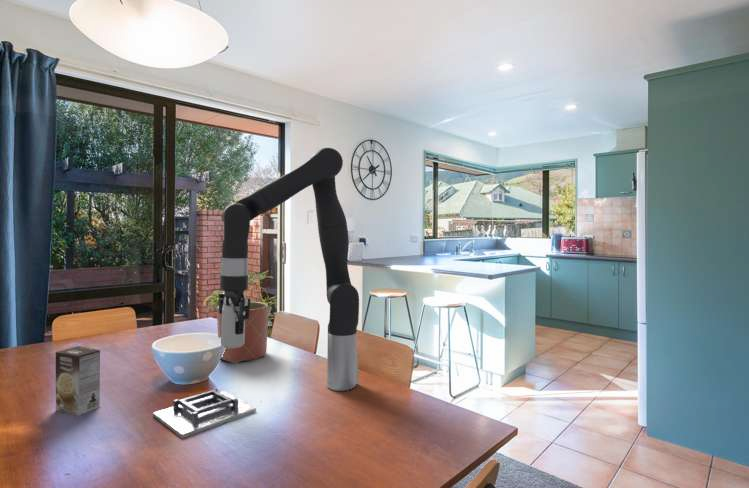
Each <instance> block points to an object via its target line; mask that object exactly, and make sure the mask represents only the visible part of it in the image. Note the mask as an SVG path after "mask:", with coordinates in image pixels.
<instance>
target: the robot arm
mask: <svg viewBox="0 0 749 488" xmlns="http://www.w3.org/2000/svg"><path fill="white" fill-rule="evenodd" d="M343 161H344V160H343V156H342V155H341V153H340V152H339V151H338V150H337V149H335V148H332V147H324V148H320V149H318V150H317V151H315V152H314V153H313V154H312V155H311V156H310V157H309V159H308V160H307V161H306V162H304V164H302V165H300V166H298V167H297V168H295V169H293V170H291V171H290V172H288V173H286V174H284V175H282V176H280V177H278V178H276V179H274V180H272V181H270V182H268V183H266V184H265V185H262V186H261V187H259V188H258V189H256V190H254V191H253V192H251V193H250V194H249V195H247V196H246V197H242V198H241V199H239V200H237V201H235V202H233V203H231V204H230V205H228V206H227V205H226V207H225V208H224V209H223V211H222V215H221V218H222V219H221V220H222V221H223V239H222V243H221V244H222V246H221V261H220V262H221V263H220V276H219V277H220V279H219V280H220V281H219V285H220V286H219V289H220V290H221V291H222V292H223V293H222V292H221V293H219V294H218V296H217V297H218V298H217V299H218V306H219V314H222V309H223V307H224V306H223V305H229V306H231V307H232V310H233V313H235V320H236V321H235V334H237V335H238V334H243V330H244V329H243V328H244V320H246V319H249V310H250V302H251V298H250V297H249V298H246V297H245V294H244V292H245V291H247V290H248V289H249V258H248V256H249V250H248V249H249V244H248V243H249V242H248V239H249V234H250V227H251V226H250V224H251V221H252V220H254V219H256V218H257V217H259V216H260V215H264V214H265V213H268V212H270V211H271V210H273V209H275V208H276V207H279V206H280V205H282V204H283V203H285V202H286V201H288V200H290V199H291V198H293V196H295V195H297V194H298V193H300V192H301V191H303V190H304V189H307V188H308V187H310V186H312V188H313V192H314V193H313V194H314V199H315V200H314V202H315V211H316V212H315V213H316V222H317V230H318V237H319V243H320V244H319V245H320V249H321V254H322V258H323V263H324V267H325V278H326V279H325V282H326V283H325V284H326V300H327V302H328V304H329V320H328V324H327V352H326V353H327V354H326V355H327V357H326V358H327V359H326V361H327V363H326V366H327V367H326V376H327V377H326V378H327V379H326V384H327V385H326V387H327V389H329V388H330V390H331V391H337V392H339V391H340V392H343V391H345V390H346V391H350V390H349V389H351V390H353V389H354V387H355V388H356V386H357V385H359V354H357V340H358V339H357V337H358V336H357V332H358V330H357V329H358V326H359V320H360V319H359V317H360V316H359V315H360V296H359V292H358V290H357V288H356V287H355V286H353V285H352V282H351V278H350V273H349V267H348V257H349V248H350V246H349V245H350V241H349V240H350V239H349V230H348V222H347V219H346V215H345V211H344V210H343V208H342V205H341V203H340V200H339V198H338V194H337V193H338V192H337V189H336V188H337V187H336V176H337V175H339V174H340V172H341V170H342V169H343V166H344V165H343V163H344V162H343ZM222 306H223V307H222ZM237 306H240V309H239V310H236V309H235V307H237ZM245 311H246V312H245ZM238 312H239V316H238ZM244 312H245V314H244ZM356 384H357V385H356ZM352 388H353V389H352ZM346 391H345V392H346Z"/></svg>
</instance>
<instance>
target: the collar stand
mask: <svg viewBox="0 0 749 488" xmlns="http://www.w3.org/2000/svg"><path fill="white" fill-rule="evenodd" d="M256 412H257V407H256V406H254V405H252V404H250V403H248V402H246V401H244V400H242V399H241V398H239V397H237V396H234V395H233V394H231V393H228V392H227V391H225V390H223V391H221V392H220V391H218V388H217V387H214V388H212V390H209V391H205V392H202V393H201V392H200V393H199V394H198V393H197V394H195V395H191V396H187V397H185V398H182V399H178V398H176V399H172V406H170V407H168V408H165V409H160V410H157V411H154V412H153V417H154V418H155V419H156V420H158V421H159V422H160V423H161V424H163V425H164V426H165V427H167V428H168V429H169V430H170V431H172V432H173V433H174V434H175V435H177V436H178V437H180V438H181V439H184V438H188V437H190V436H193V435H195V434H198V433H200V432H201V433H202V432H203V431H207V430H209V429H211V428H214V427H218V426H220V425H223V424H225V423H228V422H230V421H234V420H236V419H239V418H240V419H241V418H242V417H245V416H248V415H250V414H254V413H256Z"/></svg>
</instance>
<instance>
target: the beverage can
mask: <svg viewBox="0 0 749 488" xmlns="http://www.w3.org/2000/svg"><path fill="white" fill-rule="evenodd" d="M223 306H224V307H223V309H222V333H221V345H222V346H224V347H225V348H239V347H242V345H243V344H244V343H245V320H244V328H243V329H244V330H243V334H238V335H237V334H235V321H236V320H235V313H233V310H232V307H231V306H229V305H223ZM235 309H236V310H239V309H240V306H237V307H235ZM244 314H245V312H244ZM238 316H239V312H238Z"/></svg>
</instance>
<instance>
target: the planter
mask: <svg viewBox="0 0 749 488" xmlns="http://www.w3.org/2000/svg"><path fill="white" fill-rule="evenodd" d="M222 307H223V306H222ZM245 312H246V311H245ZM216 316H217V317H216V318H217V319H216V322H217V323H216V324H217V338H218V337H219V338H220V337H221V333H222V314H219V305H218V306H216ZM268 327H269V304H268V303H267V302H263V301H262V302H259V301H250V310H249V319H246V320H245V343H244V344H243V345H242V347H239V348H226V349H225V352H224V354H223V357H222V359H221V360H223V361H227V362H229V363H233V364H239V363H240V362H241V361H249V360H250V361H251V360H254V359H258V358H261V357H262V358H265V357H266V355H267V347H268V346H267V345H268Z"/></svg>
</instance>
